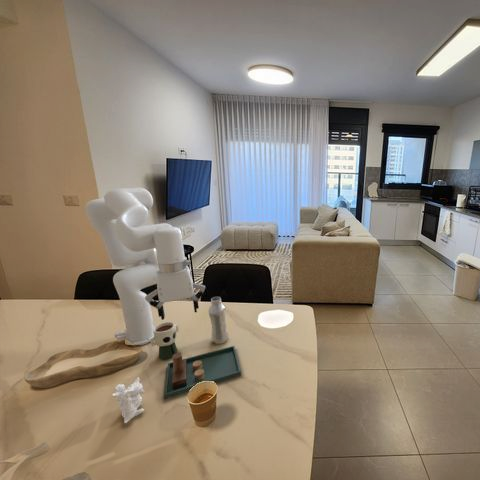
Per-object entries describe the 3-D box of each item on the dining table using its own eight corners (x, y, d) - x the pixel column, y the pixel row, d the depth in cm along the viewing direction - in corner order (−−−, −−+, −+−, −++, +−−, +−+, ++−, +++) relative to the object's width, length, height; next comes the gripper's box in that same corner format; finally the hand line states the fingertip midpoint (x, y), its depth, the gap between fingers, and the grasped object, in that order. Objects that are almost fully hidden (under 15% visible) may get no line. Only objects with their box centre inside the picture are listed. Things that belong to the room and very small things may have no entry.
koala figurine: (127, 431, 72) (119, 396, 69) (109, 424, 74) (100, 390, 71) (153, 405, 80) (147, 373, 77) (136, 400, 82) (130, 368, 79)
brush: (173, 390, 85) (169, 367, 82) (174, 369, 93) (171, 348, 91) (186, 386, 86) (183, 363, 84) (187, 366, 95) (183, 345, 93)
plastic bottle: (223, 347, 106) (219, 303, 101) (208, 345, 108) (203, 301, 102) (231, 337, 112) (228, 295, 107) (217, 335, 114) (213, 294, 108)
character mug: (161, 368, 95) (156, 337, 91) (148, 362, 98) (143, 332, 94) (187, 350, 104) (183, 321, 101) (175, 345, 107) (171, 317, 104)
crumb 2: (195, 381, 88) (194, 376, 88) (194, 375, 91) (194, 370, 90) (204, 378, 89) (204, 373, 89) (204, 372, 92) (203, 367, 92)
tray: (165, 400, 82) (164, 395, 81) (168, 368, 95) (167, 363, 94) (241, 376, 92) (240, 371, 91) (234, 350, 105) (234, 345, 104)
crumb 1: (193, 371, 92) (192, 367, 92) (193, 366, 95) (192, 361, 94) (202, 369, 94) (201, 364, 93) (202, 363, 96) (201, 359, 96)
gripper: (201, 258, 90) (206, 303, 94) (141, 266, 82) (150, 315, 86) (203, 265, 83) (208, 313, 88) (138, 274, 75) (148, 326, 80)
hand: (179, 314), depth 87 cm, fingers open, 9 cm apart
